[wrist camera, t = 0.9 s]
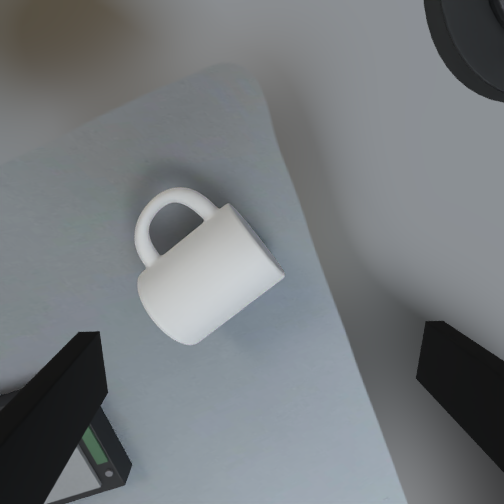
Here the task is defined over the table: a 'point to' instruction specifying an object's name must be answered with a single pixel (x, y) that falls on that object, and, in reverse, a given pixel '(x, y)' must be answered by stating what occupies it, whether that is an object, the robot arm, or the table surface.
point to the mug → (202, 268)
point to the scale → (89, 462)
